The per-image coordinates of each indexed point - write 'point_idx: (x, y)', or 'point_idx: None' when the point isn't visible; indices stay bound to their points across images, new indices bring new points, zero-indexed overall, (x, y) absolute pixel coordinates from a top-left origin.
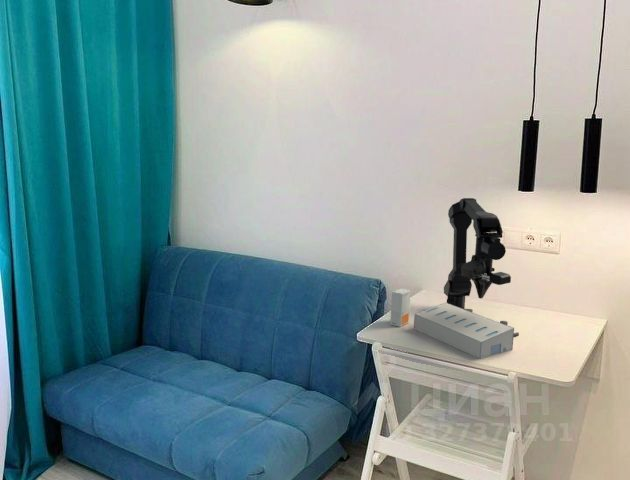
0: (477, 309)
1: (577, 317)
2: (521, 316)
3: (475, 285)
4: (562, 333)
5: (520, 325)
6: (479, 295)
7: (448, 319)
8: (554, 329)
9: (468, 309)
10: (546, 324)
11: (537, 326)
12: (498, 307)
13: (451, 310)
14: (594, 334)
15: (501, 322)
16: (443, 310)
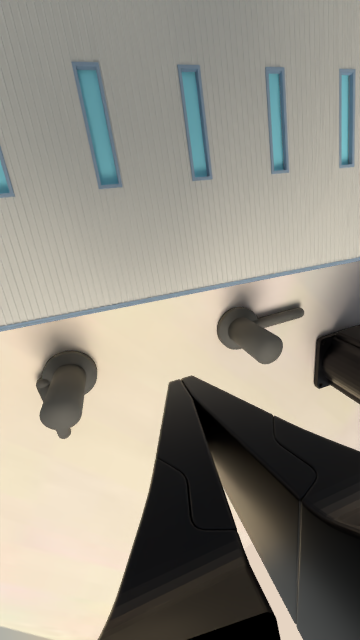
0: (309, 419)
1: None
2: None
3: (313, 439)
4: (40, 558)
5: (150, 474)
6: (189, 390)
7: (173, 81)
8: (82, 548)
9: (273, 349)
10: (129, 540)
11: (123, 514)
12: None
13: (273, 211)
14: (6, 627)
15: (56, 399)
16: (300, 170)
